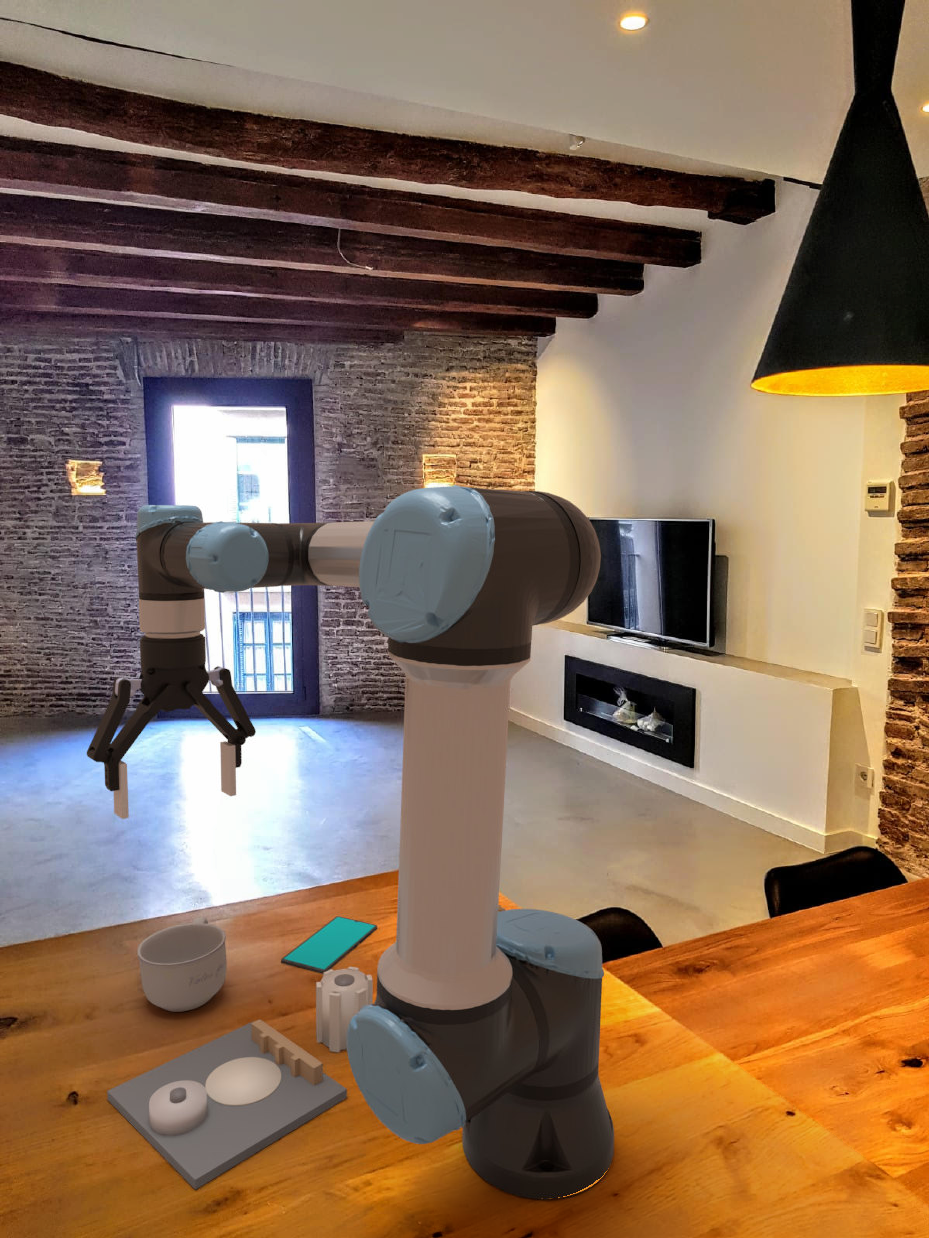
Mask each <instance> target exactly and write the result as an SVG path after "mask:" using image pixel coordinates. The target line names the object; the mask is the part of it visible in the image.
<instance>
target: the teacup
mask: <svg viewBox="0 0 929 1238" xmlns="http://www.w3.org/2000/svg"><path fill="white" fill-rule="evenodd" d="M226 939H227V935H226V933H225V930H223V928H222V927H220V926H218V925H216V924H211V923H209V920H208V919H207V918H206V917H205V916H199V917H196V918H194V920H193V921H192V922H191V923H189V922H188V923H182V924H177V925H172V926H169V927H166V928H162V929H160V930H158V931H156V932H154V933H153V934H150V935H149V936H147V937H146V938H144V939H143V941H141V943H140V944H139V945H138V948H137V950H136V951H137V952H136V954H137V957H138V964H139V972H140V978H141V987H142V990H143V993H144V995H145V997H146V999H147V1000H148V1001H149V1002H150V1004H152V1005H155V1006H156V1007H159V1008H161V1009H163V1010H165V1011H168V1012H172V1013H173V1012H177V1013H178V1012H179V1013H180V1012H186V1011H187V1012H188V1011H190V1010H194V1009H197V1008H199V1007H201V1006H204V1005H205V1004H206V1003H207V1002H209V1001H210V1000H211V999H212V998H213V997H214V996H215V995H216V994H217V993H218V992H219V991H220V990H221V988H222V987H223V985H224V982H225V981H226V978H227V977H226V976H227V951H226V950H227V949H226Z"/></svg>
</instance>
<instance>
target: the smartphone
mask: <svg viewBox="0 0 929 1238" xmlns="http://www.w3.org/2000/svg"><path fill="white" fill-rule="evenodd" d="M377 929H378V925H377V924H373V923H369V922H364V921H360V920H357V919H354V918H353V919H352V918H348V917H344V916H340V915H339V916H338V915H337V916H335V917H334V918H333V919H331V920H330V921H329V922H327V923H326V924H325V925H324V926H322V927H321V928H320V929H318V930H317V931H315V933H313V934H312V935H310V936H309V937H308V938H306V939H305V940H304V941H303V942H301V943H300V944H299V945H297V946H296V947H295V948H293V950H291V951H290V952H289V953H287V954H286V955H284V956H283V957H282V958H281V959H280V963H281V964H283V965H288V966H290V967H295V968H298V969H299V968H302V969H304V970H307V971H310V972H313V973H318V974H321V975H323V973H324V972H326V971H328V970H330V969H332V968H333V967H334V966H336V965H337V964H338V963H339V962H340V961H342V959H344V958H345V957H346V956H347V955H348V954H350V953H351V952H352V951H353V950H355V949H356V948H357V947H358V946H359V945H360V944H363V942H364V941H365V940H367V939H368V938H369V937H371V935H372V934H373V933H374V932H375V931H376V930H377Z"/></svg>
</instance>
